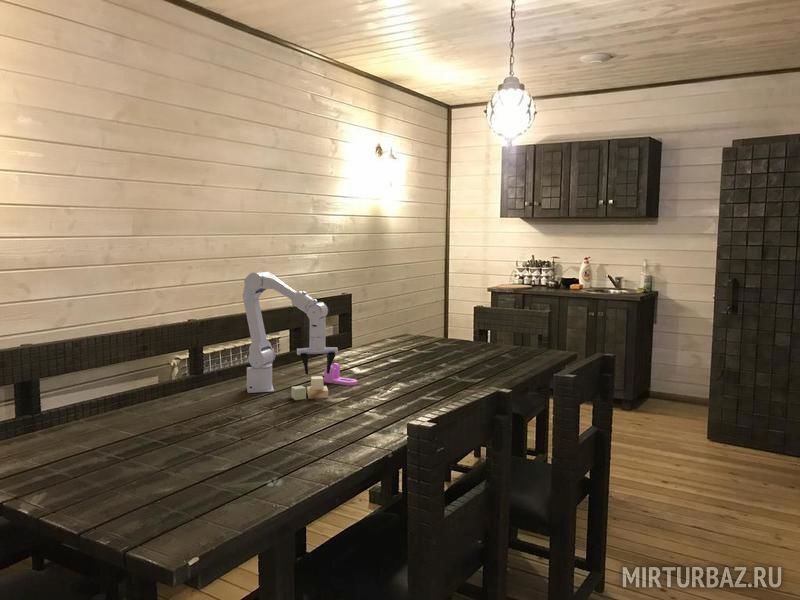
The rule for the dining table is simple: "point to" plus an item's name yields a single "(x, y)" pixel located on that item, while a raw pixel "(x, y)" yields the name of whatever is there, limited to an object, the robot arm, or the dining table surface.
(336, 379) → the bracket
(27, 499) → the dining table surface
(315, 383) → the cream cube
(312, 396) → the oak slab
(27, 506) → the dining table surface
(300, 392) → the sage cube
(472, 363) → the dining table surface
